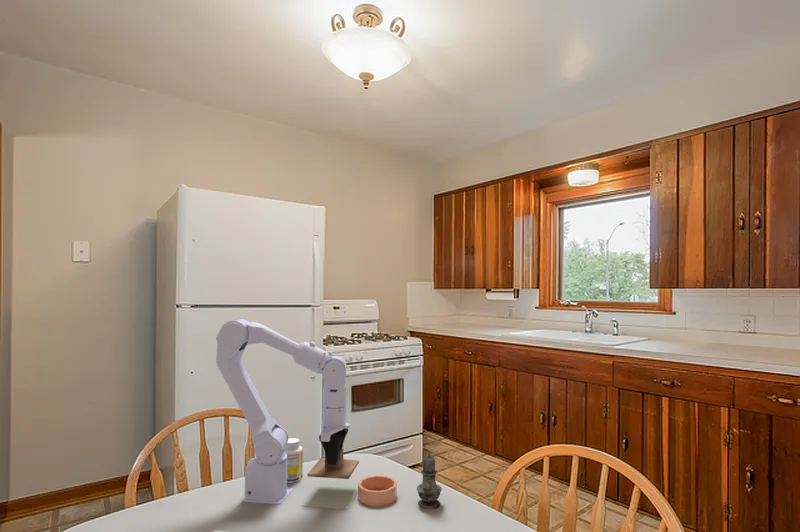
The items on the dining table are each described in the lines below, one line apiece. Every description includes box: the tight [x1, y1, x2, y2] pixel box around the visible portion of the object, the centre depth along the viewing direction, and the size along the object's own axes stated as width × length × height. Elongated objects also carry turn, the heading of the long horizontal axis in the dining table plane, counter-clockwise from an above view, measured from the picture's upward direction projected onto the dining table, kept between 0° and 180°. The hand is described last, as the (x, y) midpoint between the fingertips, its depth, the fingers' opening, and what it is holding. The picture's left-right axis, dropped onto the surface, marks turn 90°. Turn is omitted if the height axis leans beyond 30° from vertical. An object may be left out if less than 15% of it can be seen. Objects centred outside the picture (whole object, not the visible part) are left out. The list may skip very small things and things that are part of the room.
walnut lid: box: [307, 448, 360, 480], centre depth 112 cm, size 10×10×5 cm
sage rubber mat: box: [301, 479, 360, 510], centre depth 111 cm, size 11×14×1 cm
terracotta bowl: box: [357, 475, 398, 507], centre depth 109 cm, size 9×9×4 cm
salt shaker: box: [416, 451, 442, 511], centre depth 106 cm, size 6×6×12 cm
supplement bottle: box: [284, 437, 304, 484], centre depth 120 cm, size 6×6×10 cm
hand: (333, 461), depth 112 cm, fingers closed on walnut lid, 2 cm apart
